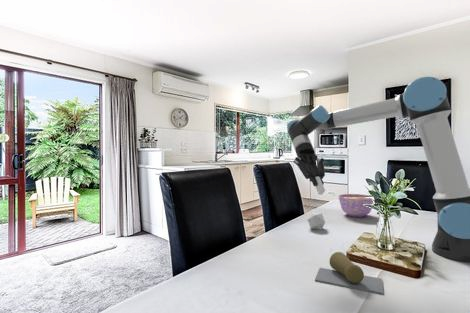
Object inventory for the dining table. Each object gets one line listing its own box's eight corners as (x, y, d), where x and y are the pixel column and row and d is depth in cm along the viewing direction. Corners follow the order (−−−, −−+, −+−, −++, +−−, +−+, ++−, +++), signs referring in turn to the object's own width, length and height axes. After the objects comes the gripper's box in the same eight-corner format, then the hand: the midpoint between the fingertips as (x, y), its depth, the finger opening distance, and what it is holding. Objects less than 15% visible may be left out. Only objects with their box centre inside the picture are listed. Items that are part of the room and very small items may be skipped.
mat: (381, 279, 78) (381, 278, 78) (383, 294, 70) (383, 293, 70) (319, 268, 86) (319, 267, 86) (314, 280, 78) (314, 279, 78)
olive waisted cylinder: (331, 272, 85) (349, 289, 74) (328, 254, 85) (346, 268, 74) (348, 267, 86) (369, 284, 75) (345, 250, 85) (365, 264, 75)
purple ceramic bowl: (375, 213, 162) (375, 195, 162) (373, 221, 145) (373, 200, 145) (341, 210, 172) (341, 193, 172) (335, 217, 155) (335, 197, 155)
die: (326, 228, 134) (317, 211, 139) (330, 224, 127) (320, 206, 131) (312, 235, 133) (303, 218, 138) (315, 231, 126) (305, 213, 130)
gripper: (313, 154, 117) (333, 198, 101) (286, 153, 114) (302, 198, 99) (320, 142, 112) (342, 186, 96) (292, 140, 109) (309, 186, 93)
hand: (321, 192), depth 97 cm, fingers closed
